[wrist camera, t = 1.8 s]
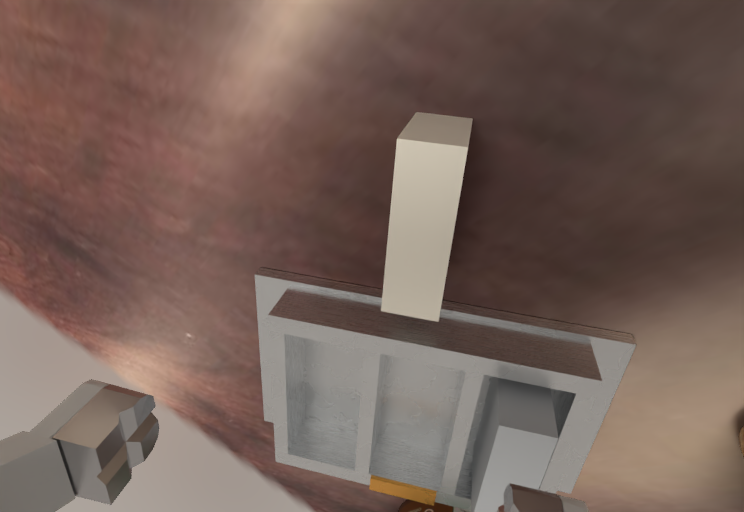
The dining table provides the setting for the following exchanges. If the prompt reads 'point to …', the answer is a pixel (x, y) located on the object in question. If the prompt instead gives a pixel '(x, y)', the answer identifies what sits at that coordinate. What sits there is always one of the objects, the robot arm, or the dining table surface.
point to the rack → (418, 384)
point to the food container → (427, 507)
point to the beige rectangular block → (424, 213)
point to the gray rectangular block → (511, 441)
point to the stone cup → (742, 440)
